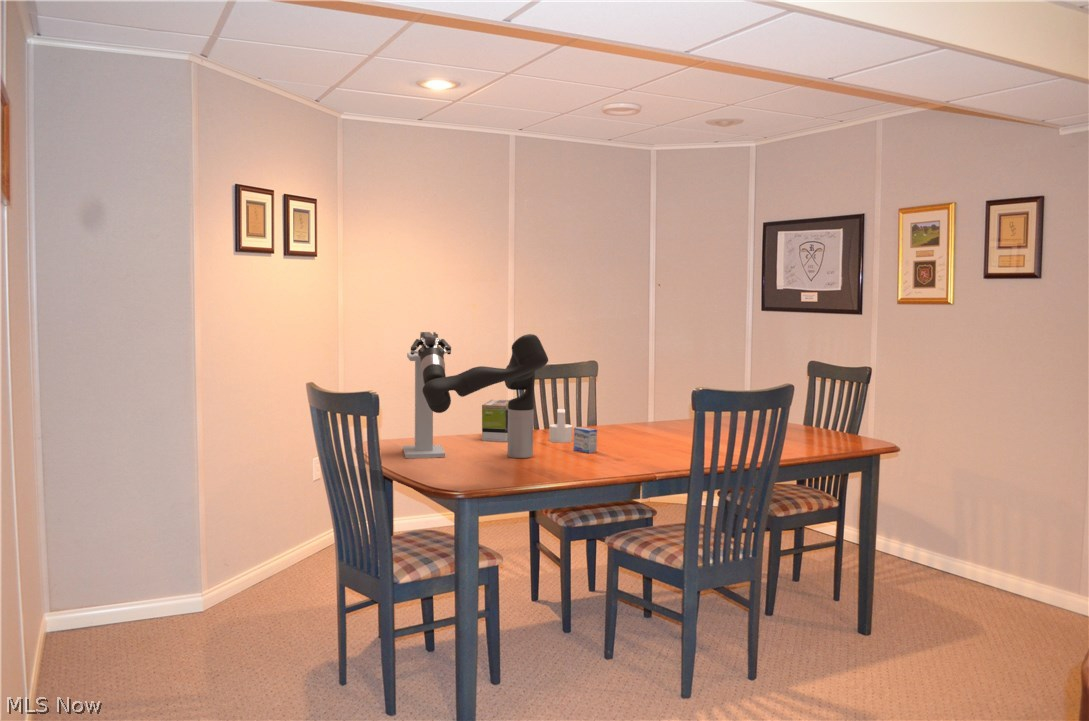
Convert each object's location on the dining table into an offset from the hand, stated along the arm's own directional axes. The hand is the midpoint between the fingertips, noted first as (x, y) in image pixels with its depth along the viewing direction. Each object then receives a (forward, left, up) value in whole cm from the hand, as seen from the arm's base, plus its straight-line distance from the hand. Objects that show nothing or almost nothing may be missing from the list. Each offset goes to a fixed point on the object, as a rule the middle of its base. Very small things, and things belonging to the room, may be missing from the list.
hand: (428, 334), depth 291 cm
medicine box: (-47, +40, -45) cm, 76 cm away
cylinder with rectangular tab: (-63, +24, -45) cm, 81 cm away
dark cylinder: (-3, -2, -3) cm, 5 cm away
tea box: (-56, 0, -45) cm, 72 cm away
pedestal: (-16, -11, -45) cm, 49 cm away
